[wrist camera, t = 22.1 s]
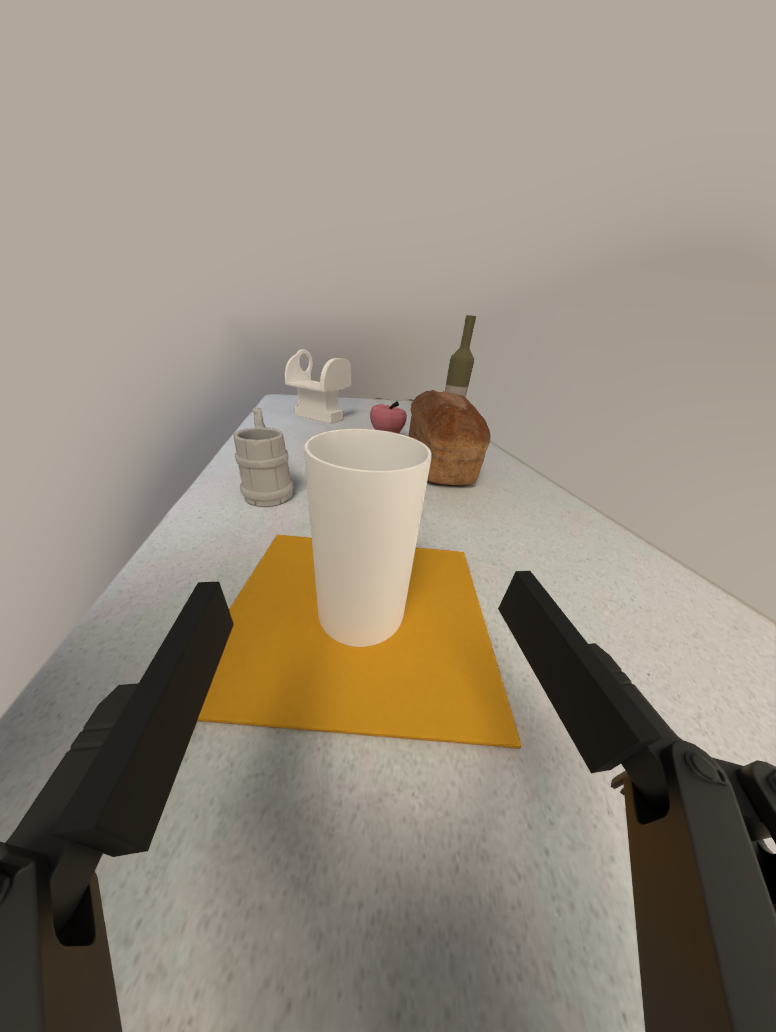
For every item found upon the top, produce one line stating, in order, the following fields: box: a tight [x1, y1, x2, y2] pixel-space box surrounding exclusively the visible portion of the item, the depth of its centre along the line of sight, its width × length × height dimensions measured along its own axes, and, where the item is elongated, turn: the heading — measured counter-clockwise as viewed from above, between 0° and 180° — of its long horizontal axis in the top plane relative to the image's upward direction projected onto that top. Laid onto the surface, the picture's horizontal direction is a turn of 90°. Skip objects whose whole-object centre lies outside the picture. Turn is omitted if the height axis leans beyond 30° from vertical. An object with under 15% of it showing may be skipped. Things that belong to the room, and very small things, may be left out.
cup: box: [305, 429, 431, 647], centre depth 22 cm, size 8×8×16 cm
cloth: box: [197, 535, 521, 748], centre depth 27 cm, size 24×20×1 cm
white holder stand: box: [285, 349, 351, 423], centre depth 82 cm, size 14×13×18 cm
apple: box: [370, 401, 407, 434], centre depth 70 cm, size 10×9×10 cm
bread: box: [409, 390, 490, 485], centre depth 58 cm, size 12×28×14 cm, turn 4°
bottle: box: [445, 315, 476, 397], centre depth 84 cm, size 7×7×30 cm
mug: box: [234, 408, 294, 507], centre depth 42 cm, size 8×12×12 cm, turn 21°
